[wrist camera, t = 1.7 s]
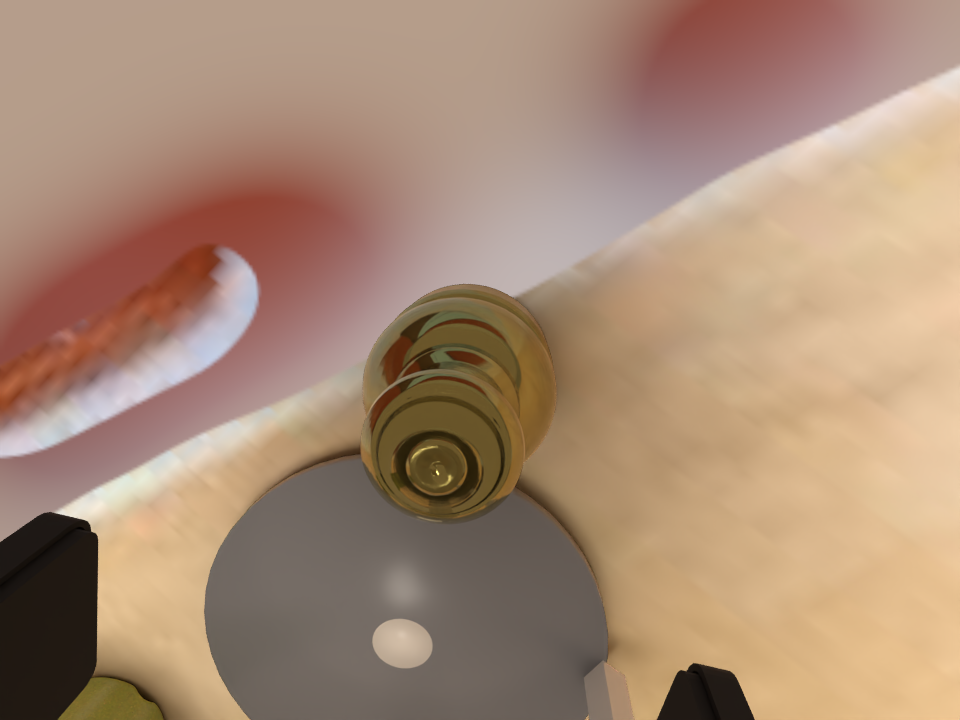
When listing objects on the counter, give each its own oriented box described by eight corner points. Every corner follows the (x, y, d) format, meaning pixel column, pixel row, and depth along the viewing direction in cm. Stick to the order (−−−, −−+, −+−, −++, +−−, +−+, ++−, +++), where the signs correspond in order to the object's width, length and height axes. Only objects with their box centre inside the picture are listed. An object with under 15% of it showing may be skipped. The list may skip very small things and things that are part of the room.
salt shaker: (580, 324, 24) (618, 410, 15) (508, 464, 27) (501, 617, 17) (423, 252, 24) (359, 294, 15) (363, 401, 26) (273, 522, 17)
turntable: (445, 833, 33) (427, 993, 26) (145, 646, 30) (42, 771, 24) (692, 615, 27) (746, 749, 21) (352, 366, 25) (292, 429, 18)
